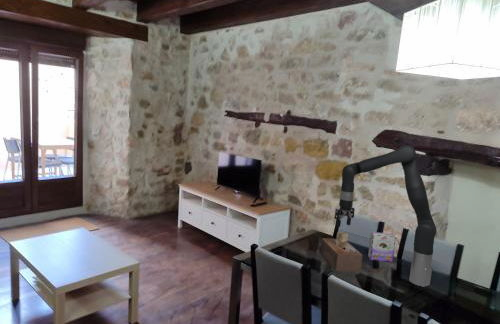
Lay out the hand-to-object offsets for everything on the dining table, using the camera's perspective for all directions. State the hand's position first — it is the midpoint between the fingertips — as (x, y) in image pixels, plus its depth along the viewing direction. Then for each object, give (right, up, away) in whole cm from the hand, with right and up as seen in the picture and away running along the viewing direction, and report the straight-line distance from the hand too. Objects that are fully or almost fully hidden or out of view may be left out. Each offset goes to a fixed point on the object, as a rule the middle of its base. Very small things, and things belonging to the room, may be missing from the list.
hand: (343, 225), depth 207 cm
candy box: (+26, -23, +12) cm, 37 cm away
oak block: (-1, -12, +1) cm, 13 cm away
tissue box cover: (-2, -23, +3) cm, 23 cm away
